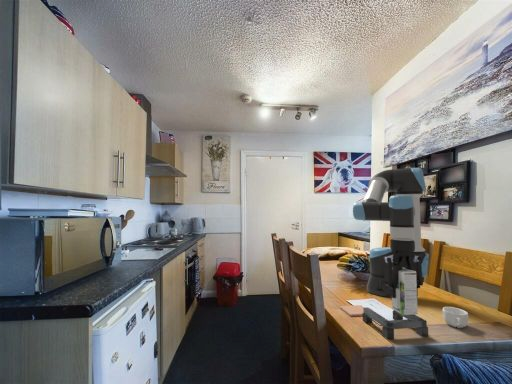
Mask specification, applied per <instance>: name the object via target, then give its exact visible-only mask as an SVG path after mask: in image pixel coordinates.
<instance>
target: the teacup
mask: <svg viewBox="0 0 512 384" xmlns="http://www.w3.org/2000/svg"><path fill="white" fill-rule="evenodd" d="M442 317H443V319H444V322H445V323H446V324H447V325H449V326H450V327H452V328H456V327H457V328H458V329H463V328H465V327H467V326H468V324H469V313H468V311H466V310H464V309H461V308H458V307H454V306H443V307H442Z"/></svg>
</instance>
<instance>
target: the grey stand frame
mask: <svg viewBox="0 0 512 384" xmlns="http://www.w3.org/2000/svg"><path fill="white" fill-rule="evenodd" d="M363 312H364V313H363V316H362V322H364V323H365V324H373V321H374V322H376V323H377V324H379V325H380V326H382V327H381V330H382V331H381V333H382V337H384V338H385V339H387V340H394V339H395V330H399V329H414V328H415V333H416V334H417V335H419V336H420V337H421V338H422V337H423V338H424V337H429V327H428V324H427V323H428V322H427V320H426V319H424V318H422V317H420V316H418V315H417V314H414V315H402V314H400V313H399V312H397V311H395V310H392V320H390V319H389V320H388V319H387V318H385V317H384V316H382V315H381V314H379V313H378V312H376V311H374V310H373V309H371V308H370V307H364V308H363ZM404 318H405V319H404Z"/></svg>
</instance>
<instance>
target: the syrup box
mask: <svg viewBox="0 0 512 384" xmlns="http://www.w3.org/2000/svg"><path fill="white" fill-rule="evenodd" d="M392 270H393V268H392ZM397 288H398V289H399V307H400V309H397V308H395V307H393V306H392V305H391V306H392V307H391V308H392V311H394V310H395V311H397V312H399V313H400V314H402V315H418V313H419V312H418V310H419V309H418V296H417V282H416V271H413V270H409V269H406V268H402V270H400V271H399V280H398V284H397Z"/></svg>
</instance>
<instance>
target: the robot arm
mask: <svg viewBox="0 0 512 384" xmlns="http://www.w3.org/2000/svg"><path fill="white" fill-rule="evenodd" d="M368 181H369V182H368V184H367V186H368V189H367V191H366V193H365V195H364V197H363V200H362V202H361V201H358V202H354V203H353V206H352V215H353V219H355V220H356V221H364V222H365V221H368V222H370V221H371V222H372V221H374V222H375V221H376V222H378V221H379V222H380V221H381V222H389V237H390V238H391V239H390V240H389V245H390V247H388V246H387V247H386V246H385V247H383V246H382V247H374V248H371V249H370V250H369V257H368V258H369V278H368V280H367V285H366V291H367V292H368V293H369V294H372V295H375V296H379V297H385V298H386V297H387V298H389V297H390V298H391V306H393V307H395V308H397V309H400V307H399V289H398V288H397V284H398V280H399V271H400V270H402V268H406V269H409V270H413V271H416V282H417V297H418V296H419V292H418V291H419V289H421V286H424V279H423V278H424V277H426V276H427V274H428V269H429V268H428V267H429V256H430V255H429V253H428V252H426V249H425V248H424V247H423V246H422V229H421V228H422V227H421V205H420V203H421V202H420V198H421V197H422V196H423V195H424V192H425V191H427V185H426V182H425V176H424V171H423V169H422V168H420V167H406V168H396V169H394V168H393V169H385V170H383V171H380V172H379V173H376V174H375V175H373V176H372V178H370V180H368ZM388 192H389V193H391V192H393V193H394V192H396V195H391V196H390V197H389V199H388V201H387V202H386V201H385V202H383V199H384V197H385V194H386V193H388ZM392 268H393V270H392Z"/></svg>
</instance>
